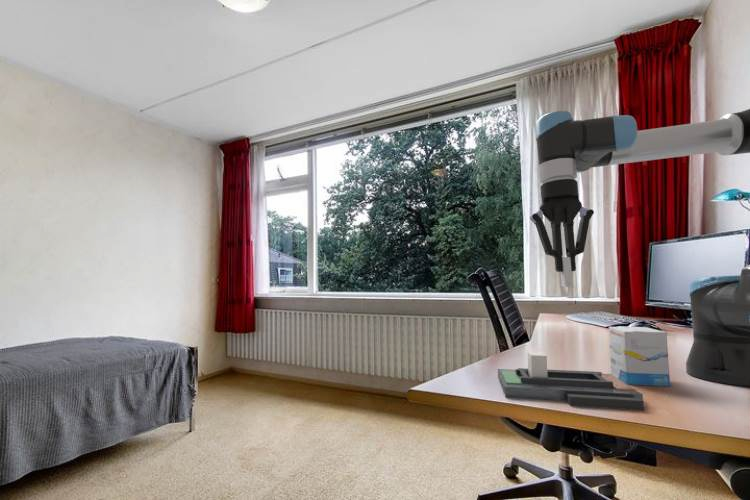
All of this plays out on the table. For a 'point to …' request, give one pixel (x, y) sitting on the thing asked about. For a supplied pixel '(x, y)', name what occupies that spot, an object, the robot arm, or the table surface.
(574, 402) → the dark grey bar
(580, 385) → the panel
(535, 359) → the white rectangular block
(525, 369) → the dark grey slim bar
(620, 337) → the ink box
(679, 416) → the table surface
